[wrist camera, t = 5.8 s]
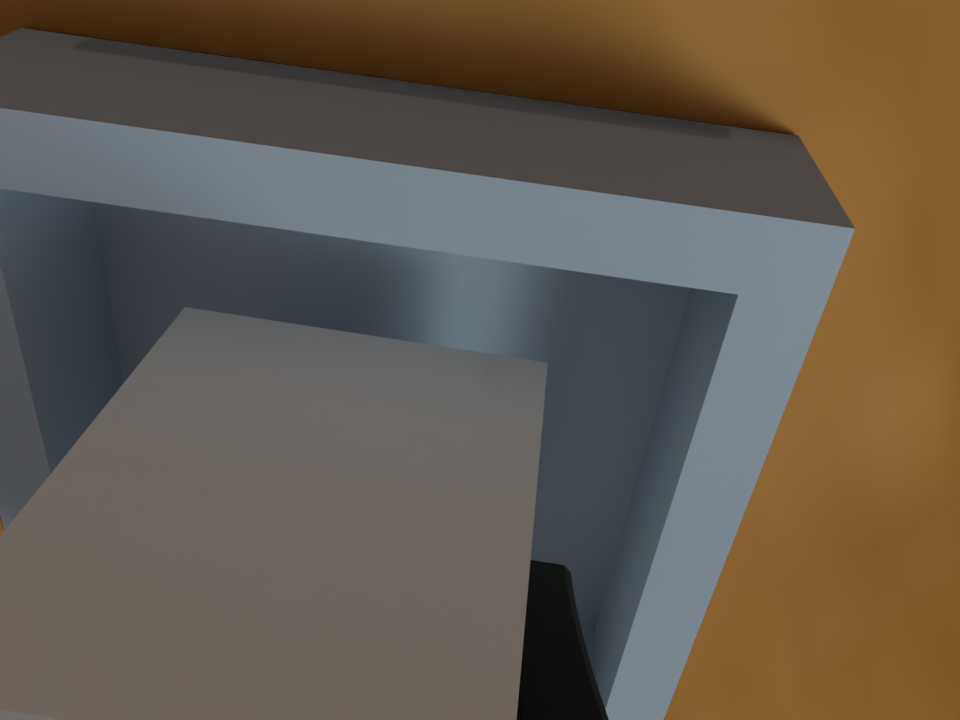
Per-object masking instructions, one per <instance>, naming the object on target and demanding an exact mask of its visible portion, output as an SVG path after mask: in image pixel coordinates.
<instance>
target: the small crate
mask: <svg viewBox="0 0 960 720" xmlns="http://www.w3.org/2000/svg"><path fill="white" fill-rule="evenodd" d="M547 365H548V363H547V362H541V361H534V360H528V359H521V358H514V357H508V356H501V355H495V354H488V353H482V352H475V351H469V350H462V349H456V348H449V347H443V346H436V345H430V344H423V343H417V342H410V341H404V340H397V339H390V338H384V337H377V336H371V335H364V334H358V333H351V332H345V331H338V330H332V329H325V328H319V327H312V326H306V325H299V324H293V323H286V322H279V321H273V320H266V319H260V318H253V317H247V316H240V315H234V314H227V313H221V312H214V311H208V310H201V309H195V308H188V307H185V308H184V309H183V310H182V311H181V313H180V314H179V315H178V316H177V318H176V319H175V320H174V321H173V323H172V324H171V325H170V326H169V328H168V329H167V330H166V331H165V333H164V334H163V335H162V336H161V337H160V339H159V340H158V341H157V342H156V344H155V345H154V346H153V347H152V349H151V350H150V351H149V352H148V354H147V355H146V356H145V357H144V359H143V360H142V361H141V362H140V364H139V365H138V366H137V367H136V369H135V370H134V371H133V372H132V373H131V375H130V376H129V377H128V378H127V380H126V381H125V382H124V383H123V385H122V386H121V387H120V388H119V390H118V391H117V392H116V393H115V395H114V396H113V397H112V398H111V400H110V401H109V402H108V403H107V405H106V406H105V407H104V408H103V410H102V411H101V412H100V413H99V414H98V416H97V417H96V418H95V419H94V421H93V422H92V423H91V424H90V426H89V427H88V428H87V429H86V431H85V432H84V433H83V434H82V436H81V437H80V438H79V439H78V441H77V442H76V443H75V444H74V446H73V447H72V448H71V449H70V450H69V452H68V453H67V454H66V455H65V457H64V458H63V459H62V460H61V462H60V463H59V464H58V465H57V467H56V468H55V469H54V470H53V472H52V473H51V474H50V475H49V477H48V478H47V479H46V480H45V482H44V483H43V484H42V485H41V487H40V488H39V489H38V490H37V491H36V493H35V494H34V495H33V496H32V498H31V499H30V500H29V501H28V503H27V504H26V505H25V506H24V508H23V509H22V510H21V511H20V513H19V514H18V515H17V516H16V518H15V519H14V520H13V521H12V523H11V524H10V525H9V526H8V527H7V529H6V530H5V531H4V532H3V534H2V535H1V536H0V720H517V709H518V698H519V686H520V675H521V663H522V652H523V640H524V629H525V617H526V606H527V595H528V583H529V572H530V560H531V549H532V537H533V526H534V514H535V503H536V491H537V480H538V469H539V457H540V446H541V434H542V423H543V411H544V400H545V388H546V377H547Z"/></svg>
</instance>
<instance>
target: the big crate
mask: <svg viewBox="0 0 960 720" xmlns="http://www.w3.org/2000/svg"><path fill="white" fill-rule="evenodd" d="M854 230H855V227H854V226H853V224H852V223H851V221H850V219H849V218H848V216H847V214H846V213H845V211H844V209H843V208H842V206H841V205H840V203H839V201H838V200H837V198H836V196H835V195H834V193H833V191H832V190H831V188H830V187H829V185H828V183H827V182H826V180H825V178H824V177H823V175H822V174H821V172H820V170H819V169H818V167H817V165H816V164H815V162H814V160H813V159H812V157H811V156H810V154H809V152H808V151H807V149H806V147H805V146H804V144H803V142H802V141H801V139H800V138H799V136H796V135H789V134H782V133H775V132H767V131H760V130H753V129H746V128H738V127H731V126H724V125H717V124H710V123H702V122H695V121H688V120H681V119H674V118H666V117H659V116H652V115H645V114H638V113H630V112H623V111H616V110H609V109H601V108H594V107H587V106H580V105H573V104H565V103H558V102H551V101H544V100H537V99H529V98H522V97H515V96H508V95H501V94H493V93H486V92H479V91H472V90H465V89H457V88H450V87H443V86H436V85H428V84H421V83H414V82H407V81H400V80H392V79H385V78H378V77H371V76H364V75H356V74H349V73H342V72H335V71H328V70H320V69H313V68H306V67H299V66H291V65H284V64H277V63H270V62H263V61H255V60H248V59H241V58H234V57H227V56H219V55H212V54H205V53H198V52H191V51H183V50H176V49H169V48H162V47H154V46H147V45H140V44H133V43H126V42H118V41H111V40H104V39H97V38H90V37H82V36H75V35H68V34H61V33H54V32H46V31H39V30H32V29H25V28H20V29H18V30H15V31H13V32H11V33H8V34H6V35H4V36H1V37H0V516H1V520H2V523H3V526H4V530H6V529H7V527H8V526H9V525H10V524H11V523H12V521H13V520H14V519H15V518H16V516H17V515H18V514H19V513H20V511H21V510H22V509H23V508H24V506H25V505H26V504H27V503H28V501H29V500H30V499H31V498H32V496H33V495H34V494H35V493H36V491H37V490H38V489H39V488H40V487H41V485H42V484H43V483H44V482H45V480H46V479H47V478H48V477H49V475H50V474H51V473H52V472H53V470H54V469H55V468H56V467H57V465H58V464H59V463H60V462H61V460H62V459H63V458H64V457H65V455H66V454H67V453H68V452H69V450H70V449H71V448H72V447H73V446H74V444H75V443H76V442H77V441H78V439H79V438H80V437H81V436H82V434H83V433H84V432H85V431H86V429H87V428H88V427H89V426H90V424H91V423H92V422H93V421H94V419H95V418H96V417H97V416H98V414H99V413H100V412H101V411H102V410H103V408H104V407H105V406H106V405H107V403H108V402H109V401H110V400H111V398H112V397H113V396H114V395H115V393H116V392H117V391H118V390H119V388H120V387H121V386H122V385H123V383H124V382H125V381H126V380H127V378H128V377H129V376H130V375H131V373H132V372H133V371H134V370H135V369H136V367H137V366H138V365H139V364H140V362H141V361H142V360H143V359H144V357H145V356H146V355H147V354H148V352H149V351H150V350H151V349H152V347H153V346H154V345H155V344H156V342H157V341H158V340H159V339H160V337H161V336H162V335H163V334H164V333H165V331H166V330H167V329H168V328H169V326H170V325H171V324H172V323H173V321H174V320H175V319H176V318H177V316H178V315H179V314H180V313H181V311H182V310H183V309H184V308H185V307H188V308H195V309H201V310H208V311H214V312H221V313H227V314H234V315H240V316H247V317H253V318H260V319H266V320H273V321H279V322H286V323H293V324H299V325H306V326H312V327H319V328H325V329H332V330H338V331H345V332H351V333H358V334H364V335H371V336H377V337H384V338H390V339H397V340H404V341H410V342H417V343H423V344H430V345H436V346H443V347H449V348H456V349H462V350H469V351H475V352H482V353H488V354H495V355H501V356H508V357H514V358H521V359H528V360H534V361H541V362H547V363H548V365H547V377H546V388H545V400H544V411H543V423H542V434H541V446H540V457H539V469H538V480H537V491H536V503H535V514H534V526H533V537H532V549H531V560H535V561H541V562H548V563H555V564H561V565H565V566H566V568H567V569H568V570H569V571H570V572H571V577H572V585H573V591H574V596H575V602H576V607H577V612H578V616H579V621H580V625H581V629H582V633H583V637H584V641H585V644H586V648H587V652H588V655H589V659H590V663H591V666H592V669H593V673H594V676H595V679H596V683H597V686H598V689H599V692H600V695H601V698H602V701H603V704H604V707H605V710H606V713H607V716H608V719H609V720H664V717H665V714H666V712H667V709H668V707H669V704H670V702H671V699H672V696H673V694H674V691H675V689H676V686H677V684H678V681H679V679H680V676H681V673H682V671H683V668H684V666H685V663H686V661H687V658H688V656H689V653H690V650H691V648H692V645H693V643H694V640H695V638H696V635H697V632H698V630H699V627H700V625H701V622H702V620H703V617H704V615H705V612H706V609H707V607H708V604H709V602H710V599H711V597H712V594H713V592H714V589H715V586H716V584H717V581H718V579H719V576H720V574H721V571H722V568H723V566H724V563H725V561H726V558H727V556H728V553H729V551H730V548H731V545H732V543H733V540H734V538H735V535H736V533H737V530H738V528H739V525H740V522H741V520H742V517H743V515H744V512H745V510H746V507H747V504H748V502H749V499H750V497H751V494H752V492H753V489H754V487H755V484H756V481H757V479H758V476H759V474H760V471H761V469H762V466H763V463H764V461H765V458H766V456H767V453H768V451H769V448H770V446H771V443H772V440H773V438H774V435H775V433H776V430H777V428H778V425H779V423H780V420H781V417H782V415H783V412H784V410H785V407H786V405H787V402H788V399H789V397H790V394H791V392H792V389H793V387H794V384H795V382H796V379H797V376H798V374H799V371H800V369H801V366H802V364H803V361H804V359H805V356H806V353H807V351H808V348H809V346H810V343H811V341H812V338H813V335H814V333H815V330H816V328H817V325H818V323H819V320H820V318H821V315H822V312H823V310H824V307H825V305H826V302H827V300H828V297H829V295H830V292H831V289H832V287H833V284H834V282H835V279H836V277H837V274H838V271H839V269H840V266H841V264H842V261H843V259H844V256H845V254H846V251H847V248H848V246H849V243H850V241H851V238H852V236H853V233H854Z"/></svg>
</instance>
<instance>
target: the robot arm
mask: <svg viewBox="0 0 960 720" xmlns="http://www.w3.org/2000/svg"><path fill="white" fill-rule="evenodd" d="M517 720H609V719H608V716H607V713H606V710H605V707H604V704H603V701H602V698H601V695H600V692H599V689H598V686H597V683H596V679H595V676H594V673H593V669H592V666H591V663H590V659H589V655H588V652H587V648H586V644H585V641H584V637H583V633H582V629H581V625H580V621H579V616H578V612H577V607H576V602H575V596H574V591H573V585H572V577H571V572H570V571H569V570H568V569H567V568H566V566H565V565H561V564H555V563H548V562H541V561H535V560H530V572H529V583H528V595H527V606H526V617H525V629H524V640H523V652H522V663H521V675H520V686H519V698H518V709H517Z"/></svg>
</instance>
